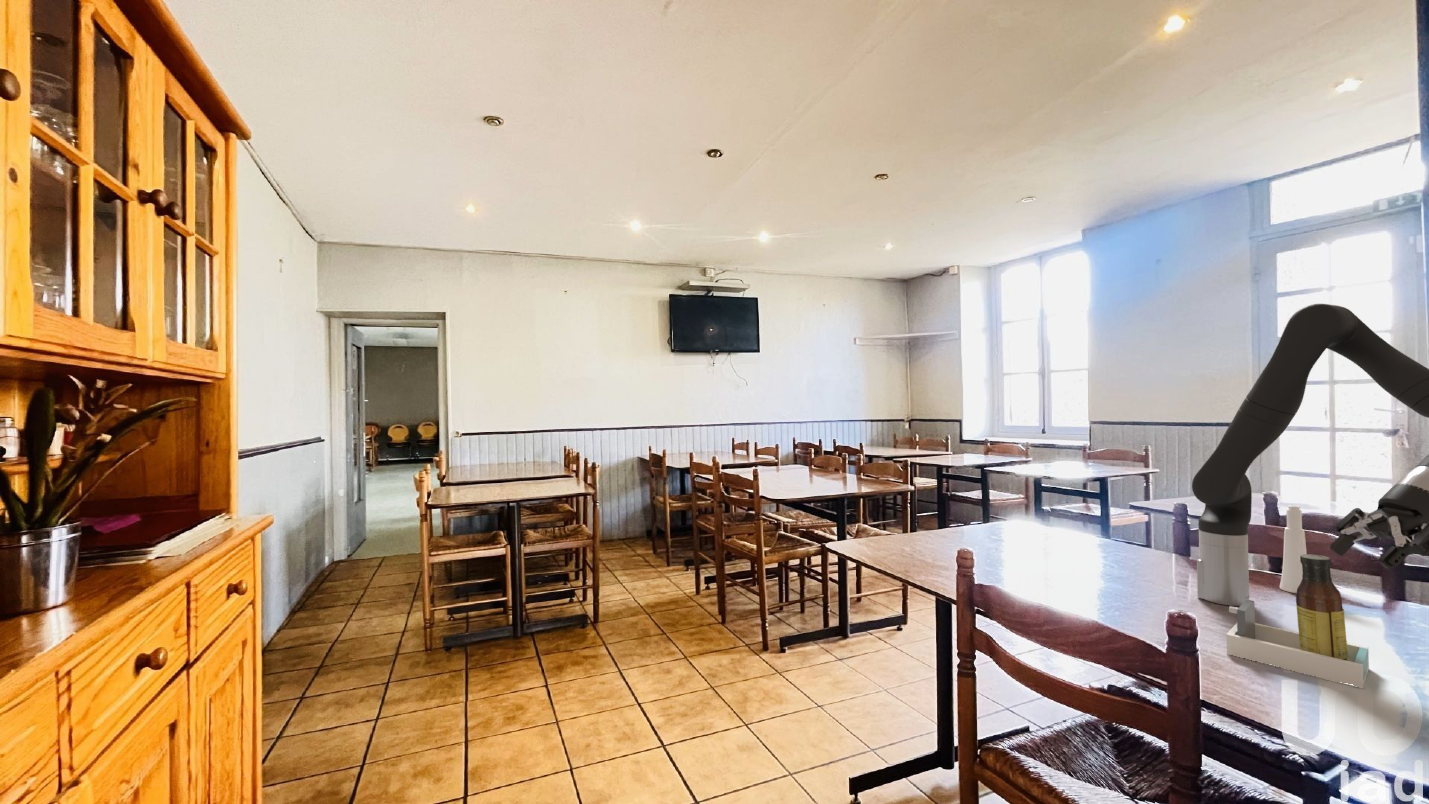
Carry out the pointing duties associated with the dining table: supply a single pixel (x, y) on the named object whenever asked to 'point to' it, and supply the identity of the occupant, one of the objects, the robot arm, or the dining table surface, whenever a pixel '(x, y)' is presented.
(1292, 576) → the cosmetic bottle
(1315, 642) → the sauce bottle
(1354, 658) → the pusher lane
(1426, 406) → the robot arm
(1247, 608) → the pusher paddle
